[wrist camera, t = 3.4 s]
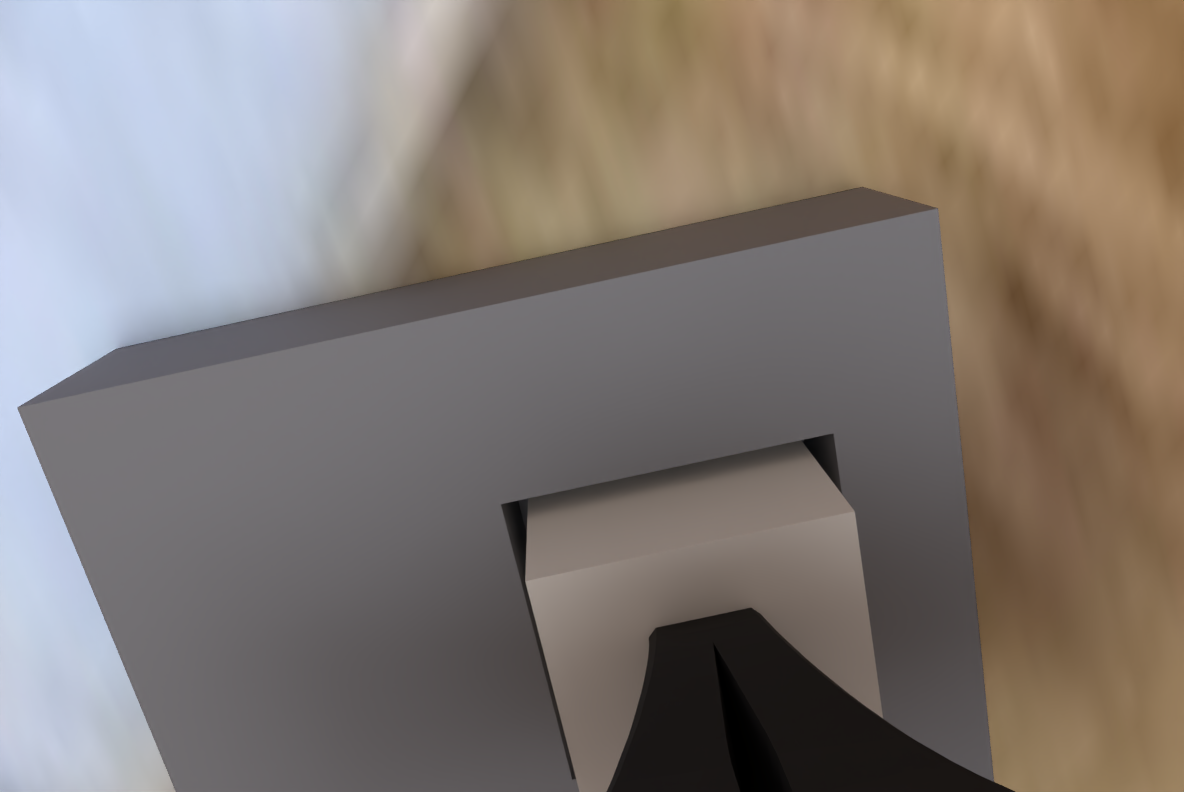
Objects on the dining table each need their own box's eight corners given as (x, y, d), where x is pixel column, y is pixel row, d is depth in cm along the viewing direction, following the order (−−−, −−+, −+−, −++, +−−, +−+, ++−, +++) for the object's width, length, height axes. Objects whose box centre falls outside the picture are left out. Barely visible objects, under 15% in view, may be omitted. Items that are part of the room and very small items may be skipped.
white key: (791, 427, 14) (854, 511, 11) (827, 657, 15) (892, 784, 13) (528, 484, 14) (524, 580, 11) (583, 708, 16) (593, 846, 13)
